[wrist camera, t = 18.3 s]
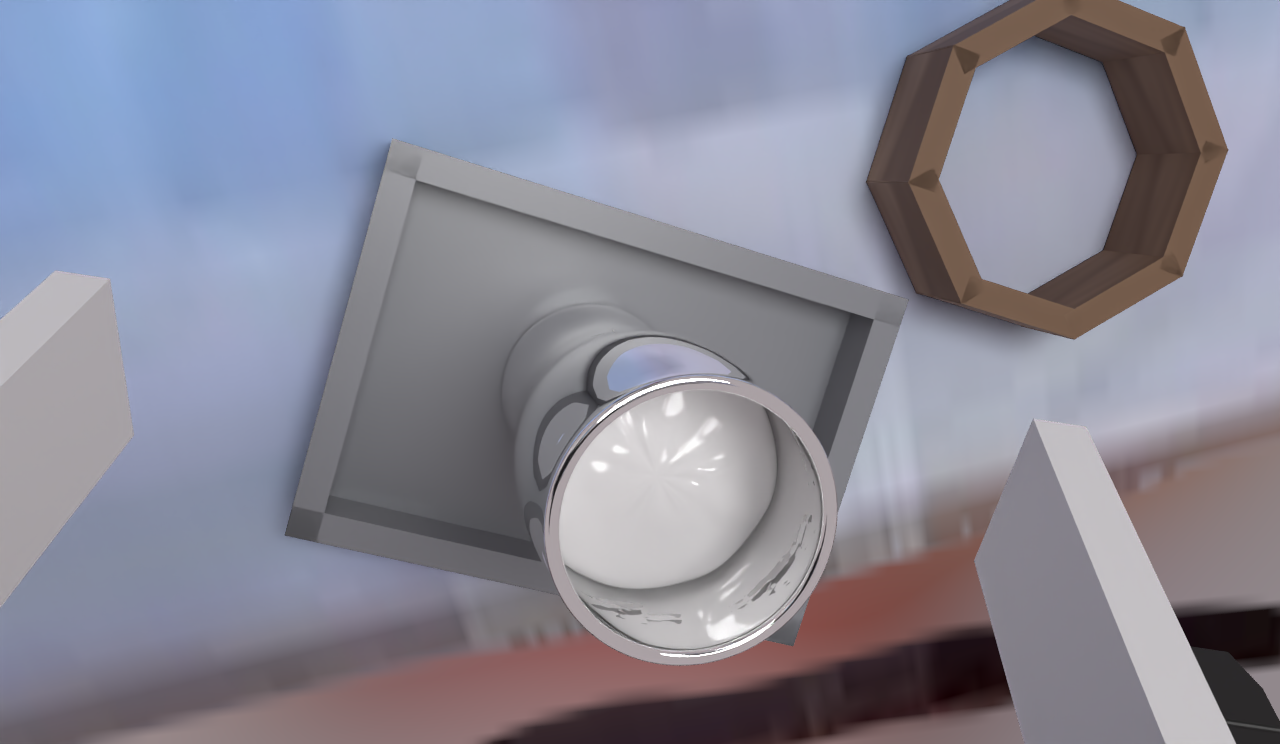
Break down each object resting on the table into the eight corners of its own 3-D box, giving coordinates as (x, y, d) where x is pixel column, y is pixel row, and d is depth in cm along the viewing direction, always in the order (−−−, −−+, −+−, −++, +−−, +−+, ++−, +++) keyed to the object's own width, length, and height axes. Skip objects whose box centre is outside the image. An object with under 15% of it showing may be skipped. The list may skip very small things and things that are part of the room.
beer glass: (689, 475, 39) (850, 653, 25) (496, 496, 38) (545, 697, 23) (681, 283, 38) (845, 351, 23) (480, 298, 36) (521, 380, 22)
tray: (294, 507, 37) (284, 535, 35) (394, 141, 36) (392, 138, 33) (767, 613, 42) (793, 646, 39) (873, 290, 40) (908, 299, 37)
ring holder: (837, 268, 40) (876, 277, 37) (935, -35, 39) (986, -55, 35) (1092, 348, 43) (1150, 363, 39) (1192, 67, 41) (1261, 58, 38)
